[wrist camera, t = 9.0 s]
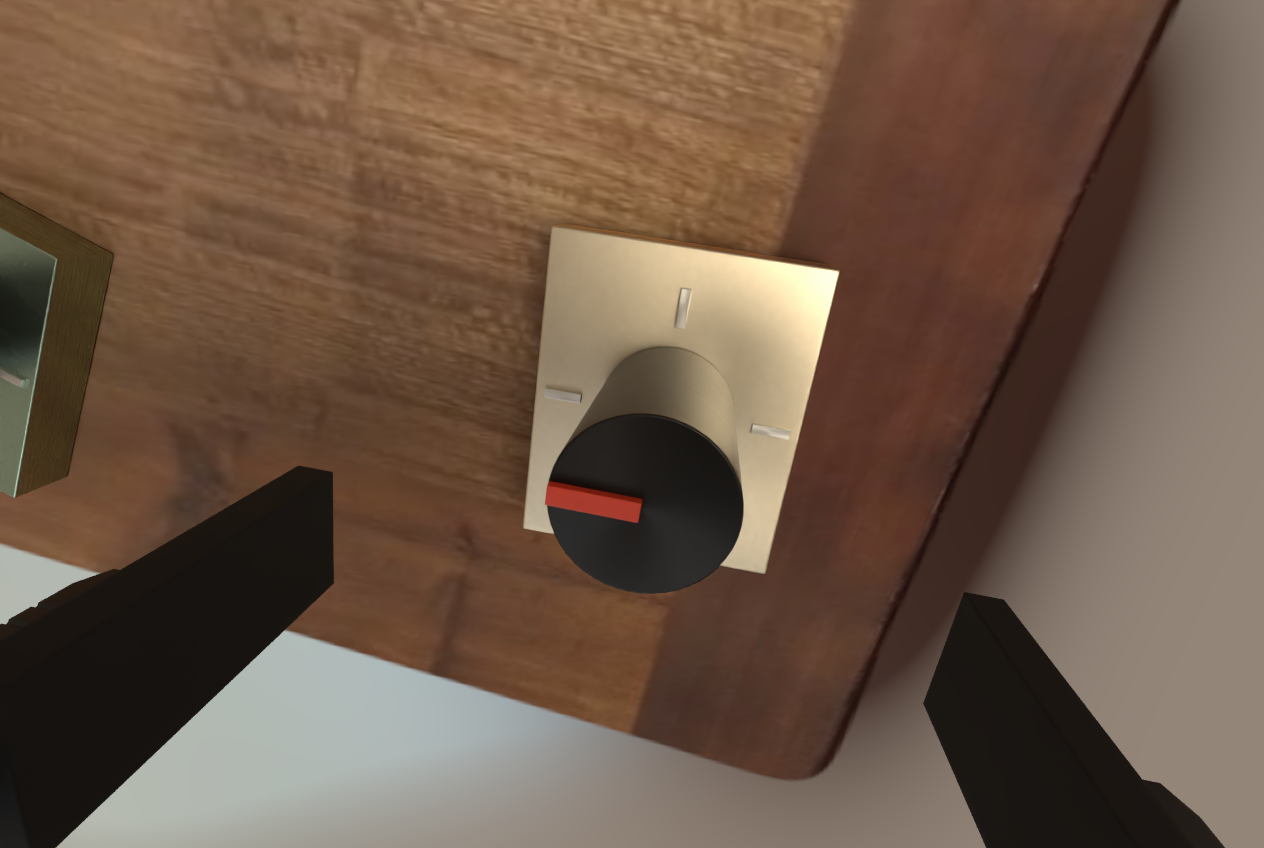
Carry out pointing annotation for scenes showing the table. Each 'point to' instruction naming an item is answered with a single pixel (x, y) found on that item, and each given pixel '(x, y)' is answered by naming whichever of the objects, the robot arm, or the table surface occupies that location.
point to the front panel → (691, 320)
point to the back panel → (44, 342)
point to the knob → (651, 476)
